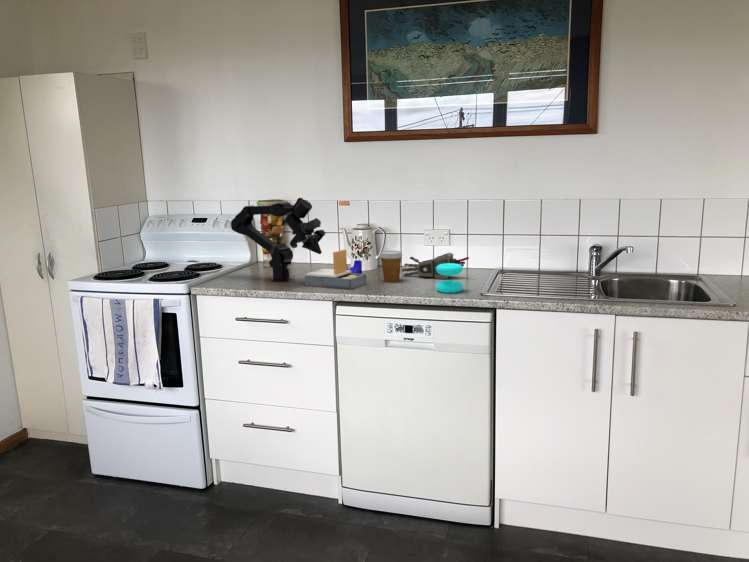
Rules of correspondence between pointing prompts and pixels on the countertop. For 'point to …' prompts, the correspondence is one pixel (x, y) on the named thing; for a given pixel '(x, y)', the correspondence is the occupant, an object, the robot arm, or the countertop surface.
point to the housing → (337, 281)
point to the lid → (339, 266)
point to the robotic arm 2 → (432, 266)
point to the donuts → (449, 285)
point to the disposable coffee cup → (391, 265)
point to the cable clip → (356, 267)
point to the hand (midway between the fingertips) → (320, 253)
